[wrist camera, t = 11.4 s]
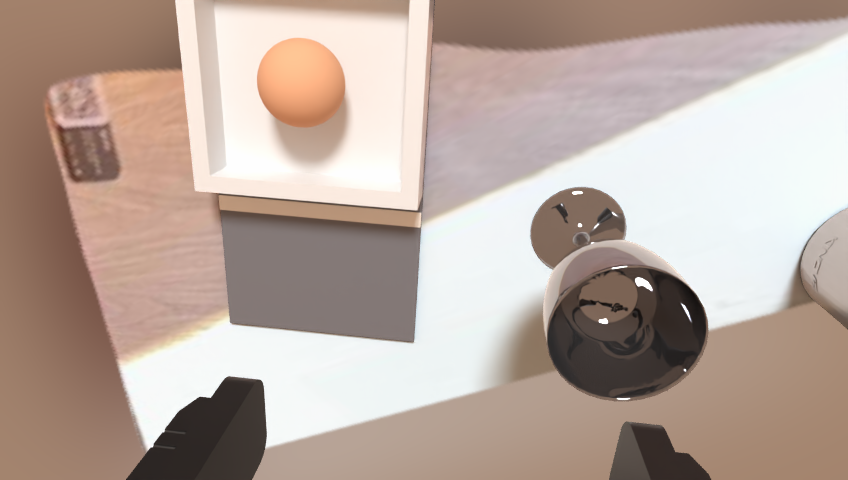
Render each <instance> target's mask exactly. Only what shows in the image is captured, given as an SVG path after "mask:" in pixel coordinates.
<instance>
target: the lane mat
mask: <svg viewBox="0 0 848 480" xmlns="http://www.w3.org/2000/svg"><path fill="white" fill-rule="evenodd" d="M434 5H435V0H434ZM433 20H434V14H433ZM433 22H434V21H433ZM432 38H433V31H432ZM431 55H432V47H431ZM430 71H431V64H430ZM429 88H430V80H429ZM428 104H429V97H428ZM427 120H428V113H427ZM426 137H427V129H426ZM425 153H426V146H425ZM424 170H425V162H424ZM423 186H424V179H423ZM218 196H219V207H220V212H221V223H222V235H223V246H224V258H225V269H226V281H227V292H228V304H229V315H230V323H237V324H247V325H256V326H266V327H276V328H285V329H295V330H304V331H314V332H324V333H333V334H343V335H352V336H362V337H372V338H381V339H391V340H400V341H410V342H414V333H415V317H416V301H417V284H418V268H419V251H420V235H421V219H422V202H423V195H422V198H421V201H420V204H419V207H418V210H405V209H394V208H383V207H371V206H360V205H348V204H337V203H326V202H314V201H303V200H292V199H280V198H269V197H257V196H246V195H235V194H223V193H219V195H218Z"/></svg>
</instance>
